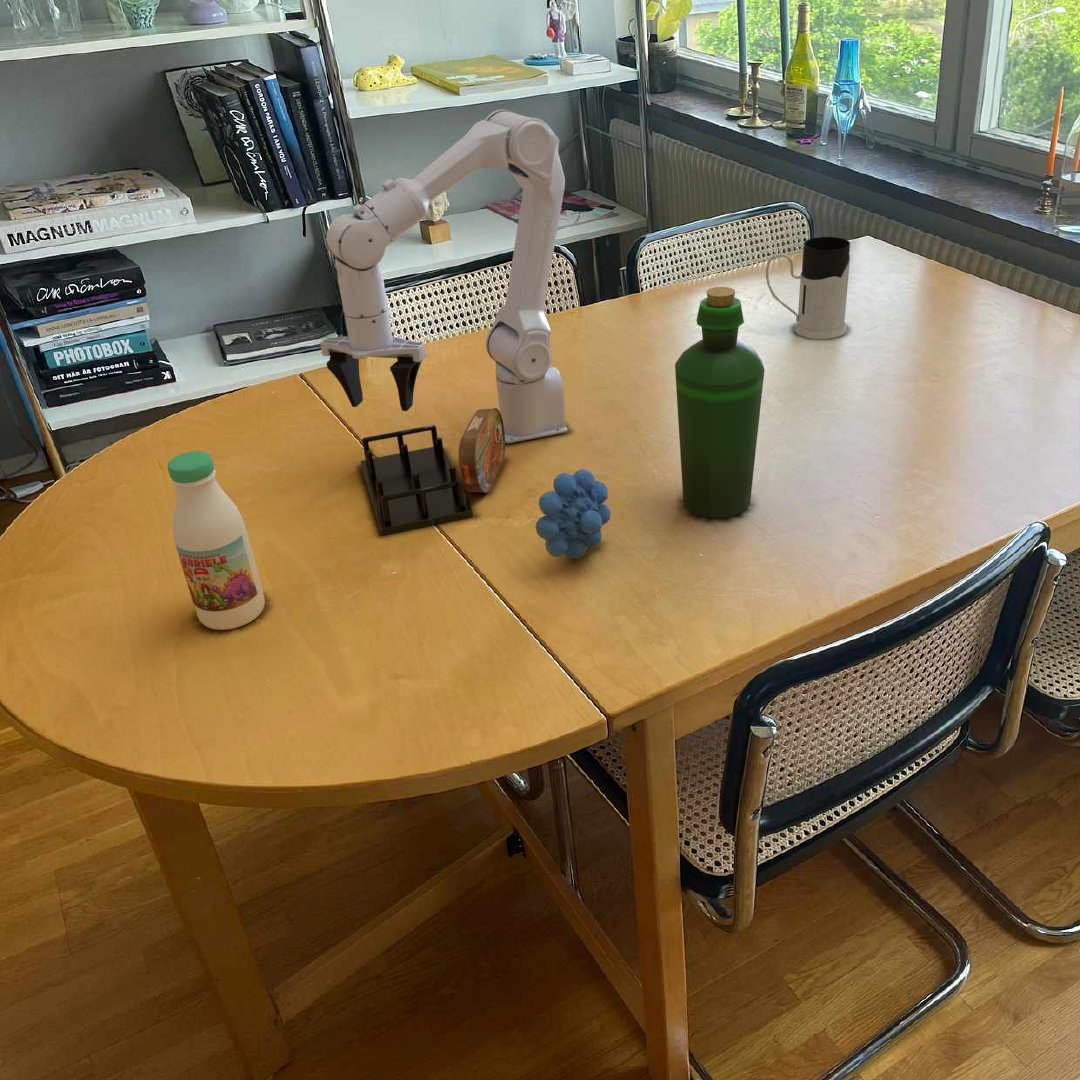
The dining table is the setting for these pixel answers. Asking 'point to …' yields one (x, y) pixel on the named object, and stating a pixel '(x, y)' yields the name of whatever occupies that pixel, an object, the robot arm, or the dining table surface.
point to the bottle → (718, 410)
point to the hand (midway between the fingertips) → (382, 405)
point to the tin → (482, 450)
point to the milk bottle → (213, 546)
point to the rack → (413, 485)
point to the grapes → (573, 514)
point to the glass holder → (821, 287)
